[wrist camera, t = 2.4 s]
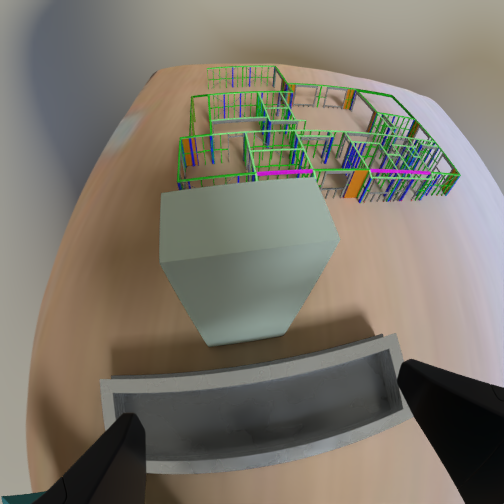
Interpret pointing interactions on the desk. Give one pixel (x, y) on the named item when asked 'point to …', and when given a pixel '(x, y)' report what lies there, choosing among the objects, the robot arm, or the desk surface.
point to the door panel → (245, 254)
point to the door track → (262, 408)
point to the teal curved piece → (21, 498)
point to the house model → (359, 175)
